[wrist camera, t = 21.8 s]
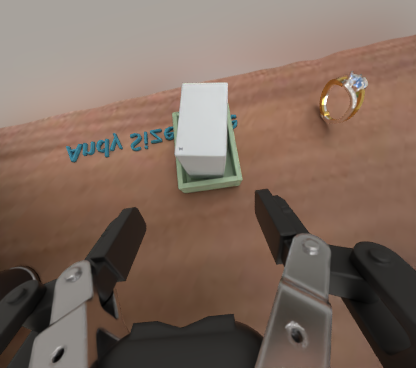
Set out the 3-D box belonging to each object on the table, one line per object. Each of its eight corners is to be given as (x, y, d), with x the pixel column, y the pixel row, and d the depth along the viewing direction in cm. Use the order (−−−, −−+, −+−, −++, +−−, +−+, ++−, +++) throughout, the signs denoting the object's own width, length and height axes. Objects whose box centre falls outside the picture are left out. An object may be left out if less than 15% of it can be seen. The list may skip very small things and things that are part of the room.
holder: (184, 193, 28) (178, 189, 24) (178, 126, 31) (171, 112, 27) (239, 185, 27) (242, 179, 23) (227, 118, 31) (228, 102, 26)
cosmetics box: (225, 179, 27) (227, 156, 17) (190, 179, 28) (171, 156, 17) (226, 128, 29) (229, 79, 19) (194, 128, 30) (179, 81, 20)
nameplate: (69, 143, 33) (67, 164, 32) (65, 142, 32) (63, 163, 31) (234, 112, 31) (239, 133, 30) (235, 109, 30) (239, 131, 29)
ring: (308, 102, 30) (339, 61, 22) (325, 99, 29) (361, 57, 22) (320, 133, 28) (357, 101, 20) (337, 130, 28) (382, 96, 20)
